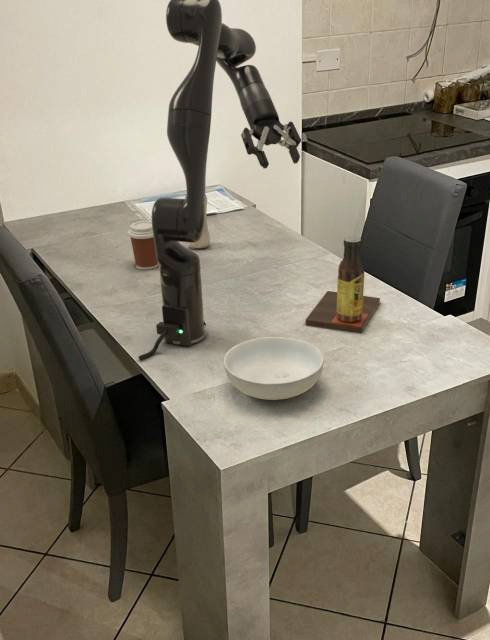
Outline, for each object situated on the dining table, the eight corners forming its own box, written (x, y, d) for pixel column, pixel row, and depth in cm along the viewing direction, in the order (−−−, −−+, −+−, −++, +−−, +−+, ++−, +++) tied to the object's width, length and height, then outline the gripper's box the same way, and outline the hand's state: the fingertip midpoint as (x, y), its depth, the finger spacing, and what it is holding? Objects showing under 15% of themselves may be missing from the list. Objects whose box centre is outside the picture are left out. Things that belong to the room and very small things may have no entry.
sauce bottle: (357, 325, 191) (360, 246, 181) (332, 321, 193) (334, 242, 183) (365, 314, 196) (369, 236, 186) (341, 310, 198) (343, 233, 188)
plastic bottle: (213, 248, 239) (209, 182, 229) (191, 252, 237) (186, 185, 227) (207, 241, 245) (203, 176, 234) (185, 244, 242) (180, 179, 232)
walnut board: (361, 333, 191) (361, 327, 190) (305, 325, 195) (305, 319, 194) (379, 303, 205) (380, 297, 204) (327, 296, 209) (327, 290, 208)
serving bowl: (340, 377, 173) (341, 349, 169) (291, 423, 157) (291, 393, 154) (259, 354, 182) (258, 327, 178) (205, 396, 166) (203, 367, 163)
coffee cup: (125, 269, 226) (120, 228, 220) (140, 257, 234) (136, 218, 228) (154, 273, 224) (150, 231, 218) (168, 261, 231) (165, 221, 225)
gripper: (236, 100, 191) (261, 159, 189) (288, 94, 197) (312, 151, 195) (228, 119, 198) (251, 176, 195) (278, 112, 204) (301, 168, 201)
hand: (281, 164), depth 195 cm, fingers open, 8 cm apart
